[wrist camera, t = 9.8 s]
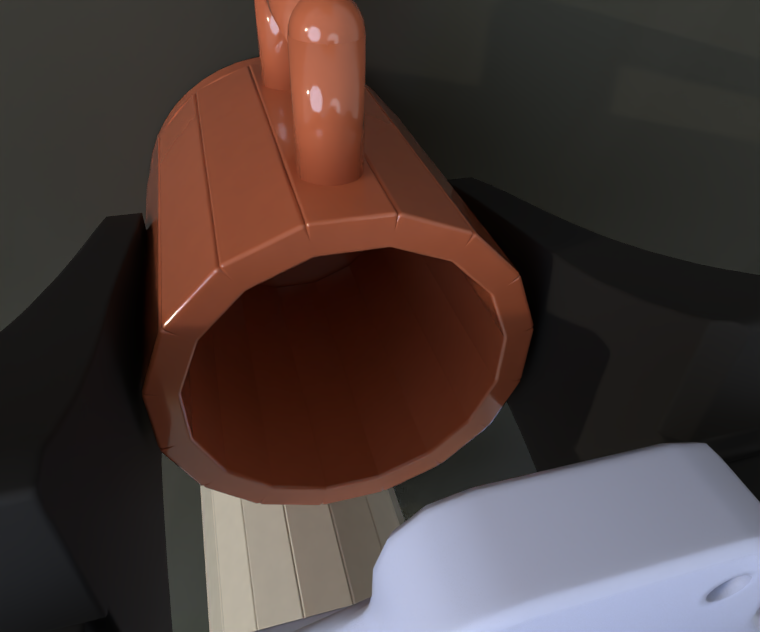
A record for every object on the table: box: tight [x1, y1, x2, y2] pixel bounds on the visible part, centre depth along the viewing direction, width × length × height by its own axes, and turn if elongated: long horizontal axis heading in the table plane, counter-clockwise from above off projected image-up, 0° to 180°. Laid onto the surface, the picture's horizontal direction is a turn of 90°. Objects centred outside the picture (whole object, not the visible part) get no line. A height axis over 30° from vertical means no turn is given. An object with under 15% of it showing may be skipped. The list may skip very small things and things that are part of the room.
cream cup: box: [200, 486, 405, 632], centre depth 18 cm, size 8×6×7 cm
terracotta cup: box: [142, 0, 534, 505], centre depth 11 cm, size 8×6×6 cm
